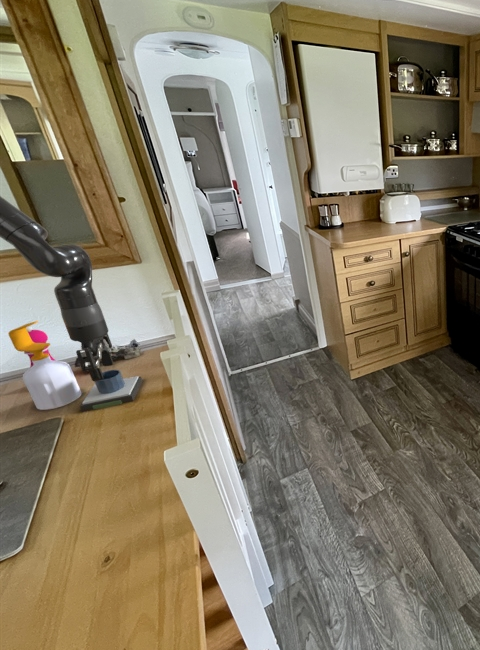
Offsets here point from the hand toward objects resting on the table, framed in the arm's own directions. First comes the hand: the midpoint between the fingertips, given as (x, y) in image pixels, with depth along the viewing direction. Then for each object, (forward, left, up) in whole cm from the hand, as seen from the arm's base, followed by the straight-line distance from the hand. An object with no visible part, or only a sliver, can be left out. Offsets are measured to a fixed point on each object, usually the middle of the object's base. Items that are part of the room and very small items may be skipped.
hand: (103, 372), depth 106 cm
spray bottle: (-13, +4, -9) cm, 16 cm away
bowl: (0, 0, -6) cm, 6 cm away
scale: (0, 0, -9) cm, 9 cm away
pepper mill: (-18, +15, -9) cm, 25 cm away
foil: (-6, +24, -9) cm, 27 cm away
